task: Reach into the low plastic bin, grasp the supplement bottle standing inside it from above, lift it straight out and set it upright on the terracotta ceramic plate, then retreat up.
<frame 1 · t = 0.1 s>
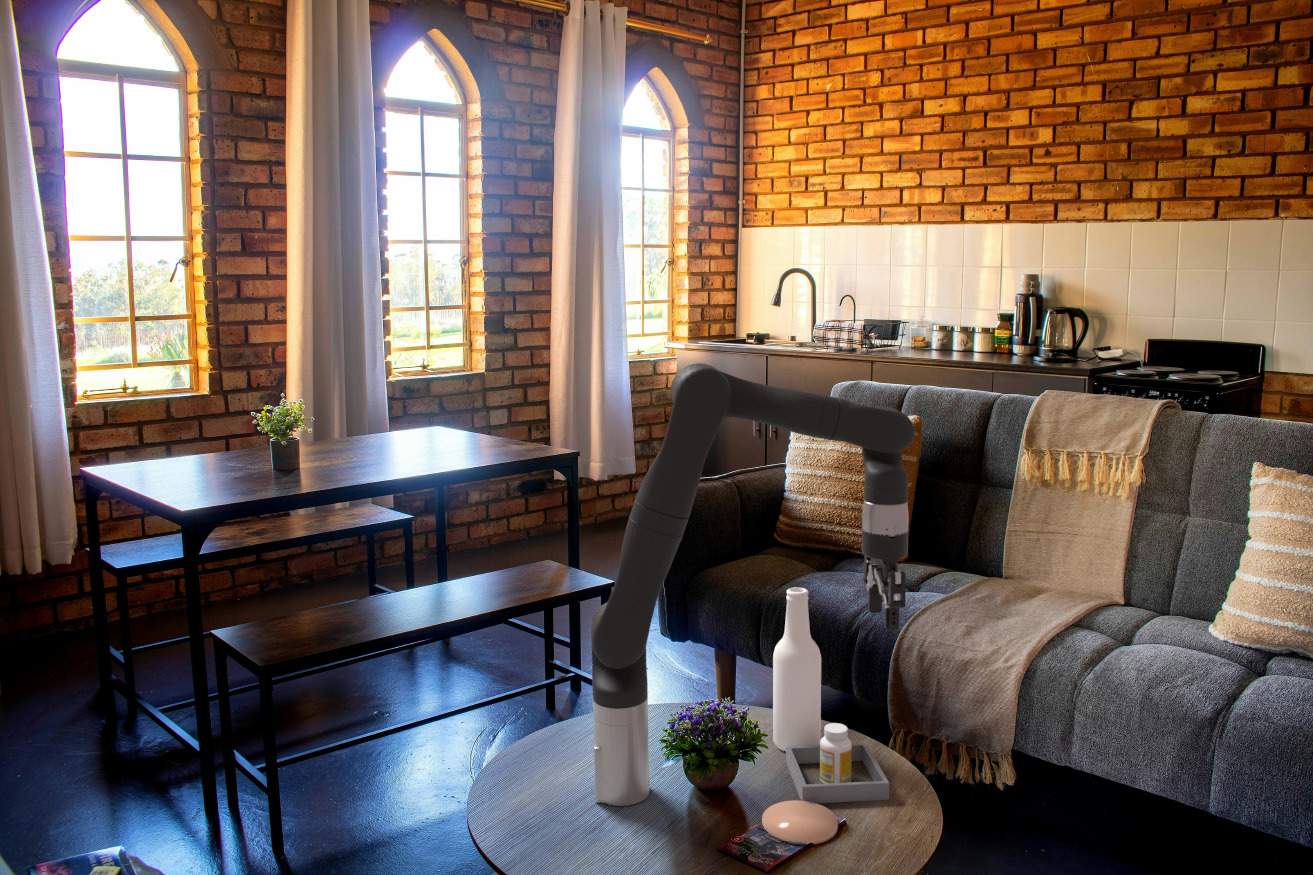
hand: (883, 620, 170), 29 cm above the table, tool pointing down, fingers open, 8 cm apart
bin: (835, 780, 175), on the table
supplement bottle: (835, 781, 175), resting in bin
plate: (799, 824, 161), on the table
alcohol: (796, 745, 189), on the table
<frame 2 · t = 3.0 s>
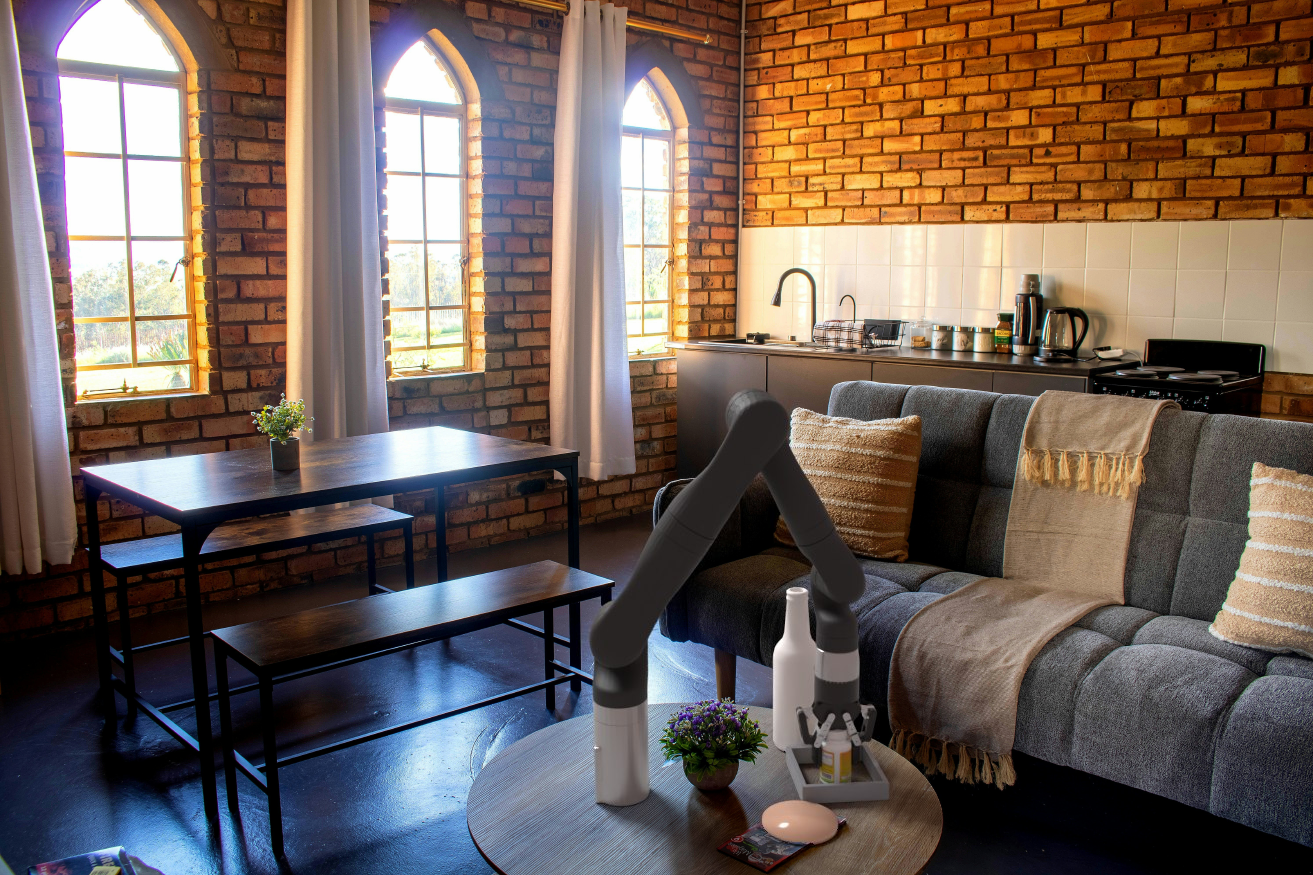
hand: (835, 763, 175), 3 cm above the table, tool pointing down, fingers closed on supplement bottle, 5 cm apart
supplement bottle: (835, 781, 175), resting in bin, touching gripper
everything else where it was.
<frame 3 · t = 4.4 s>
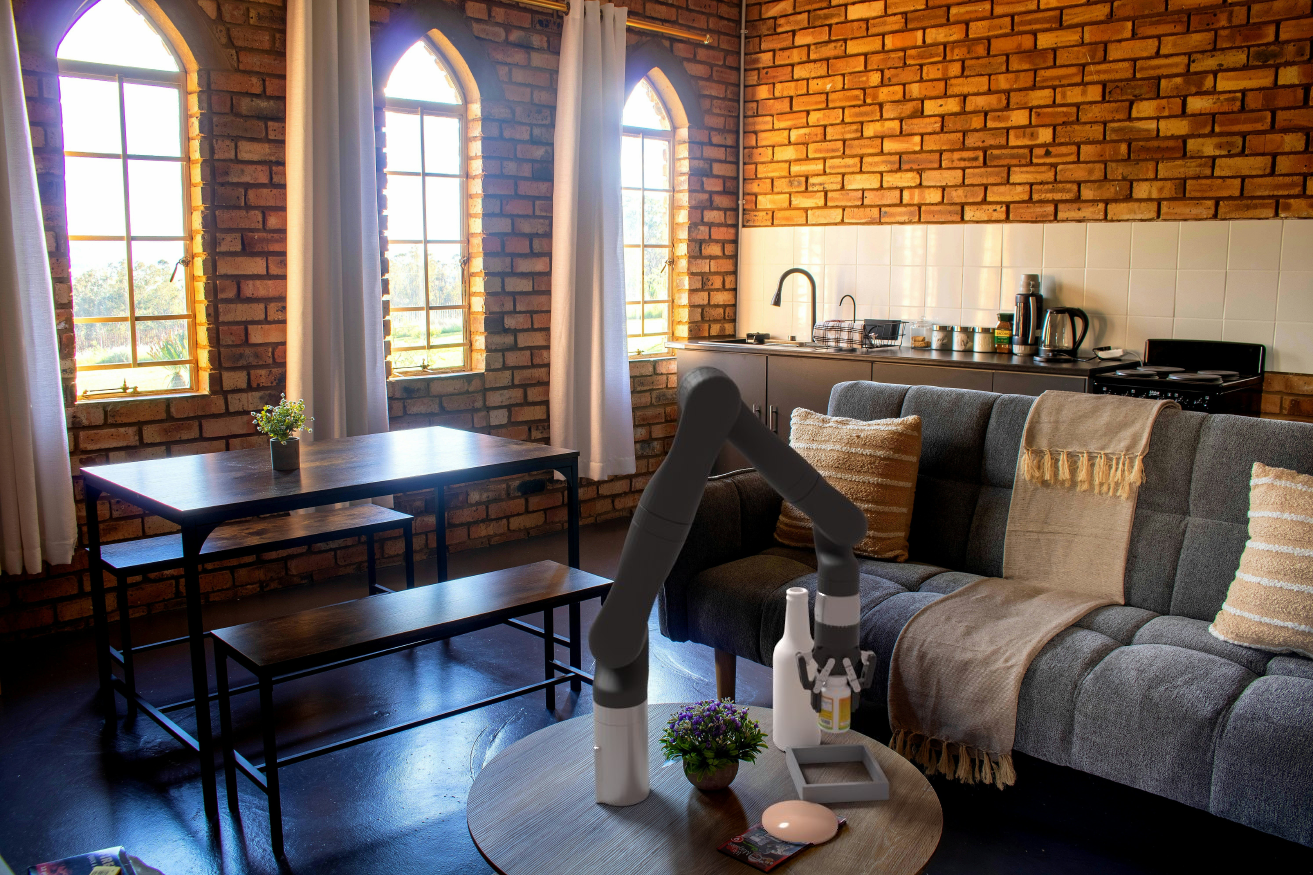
hand: (834, 710, 173), 13 cm above the table, tool pointing down, fingers closed on supplement bottle, 5 cm apart
supplement bottle: (833, 728, 174), point 10 cm above the table, touching gripper
everything else where it was.
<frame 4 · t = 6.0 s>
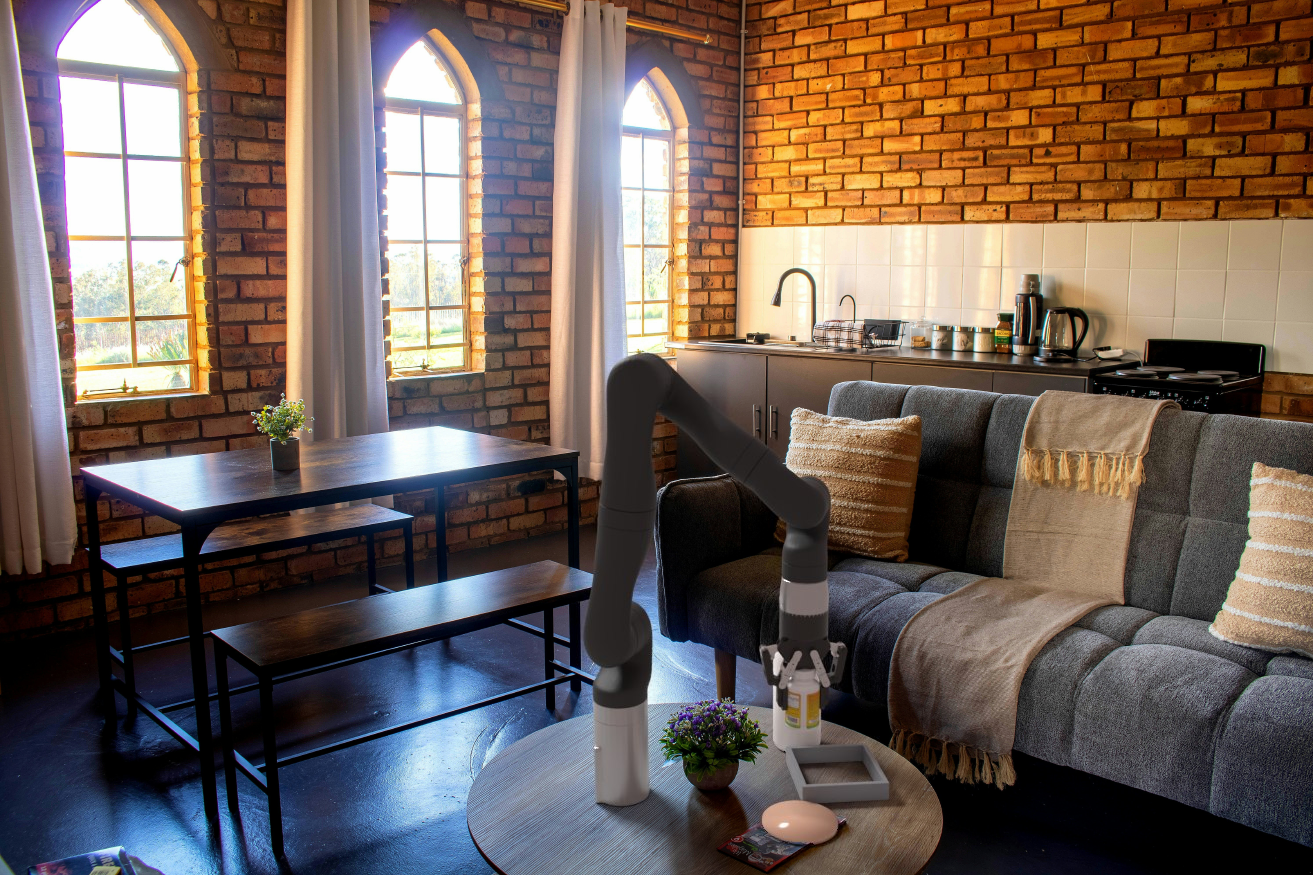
hand: (802, 707, 160), 19 cm above the table, tool pointing down, fingers closed on supplement bottle, 5 cm apart
supplement bottle: (802, 726, 160), point 16 cm above the table, touching gripper
everything else where it was.
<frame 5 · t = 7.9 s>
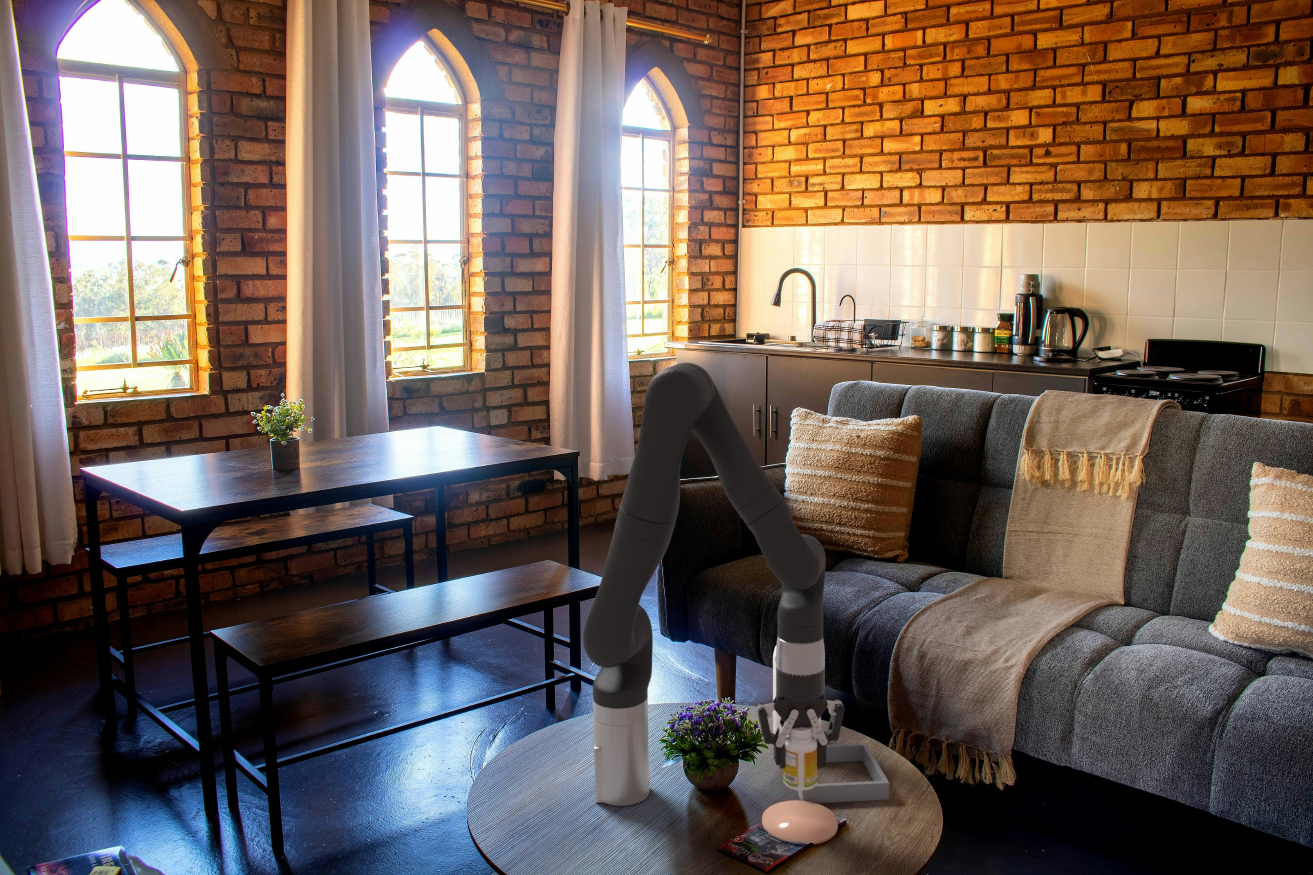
hand: (800, 764, 160), 10 cm above the table, tool pointing down, fingers closed on supplement bottle, 5 cm apart
supplement bottle: (800, 784, 160), point 7 cm above the table, touching gripper
everything else where it was.
when the fingers open (5 cm above the table, at t = 9.4 s): supplement bottle drops 1 cm, resting on plate.
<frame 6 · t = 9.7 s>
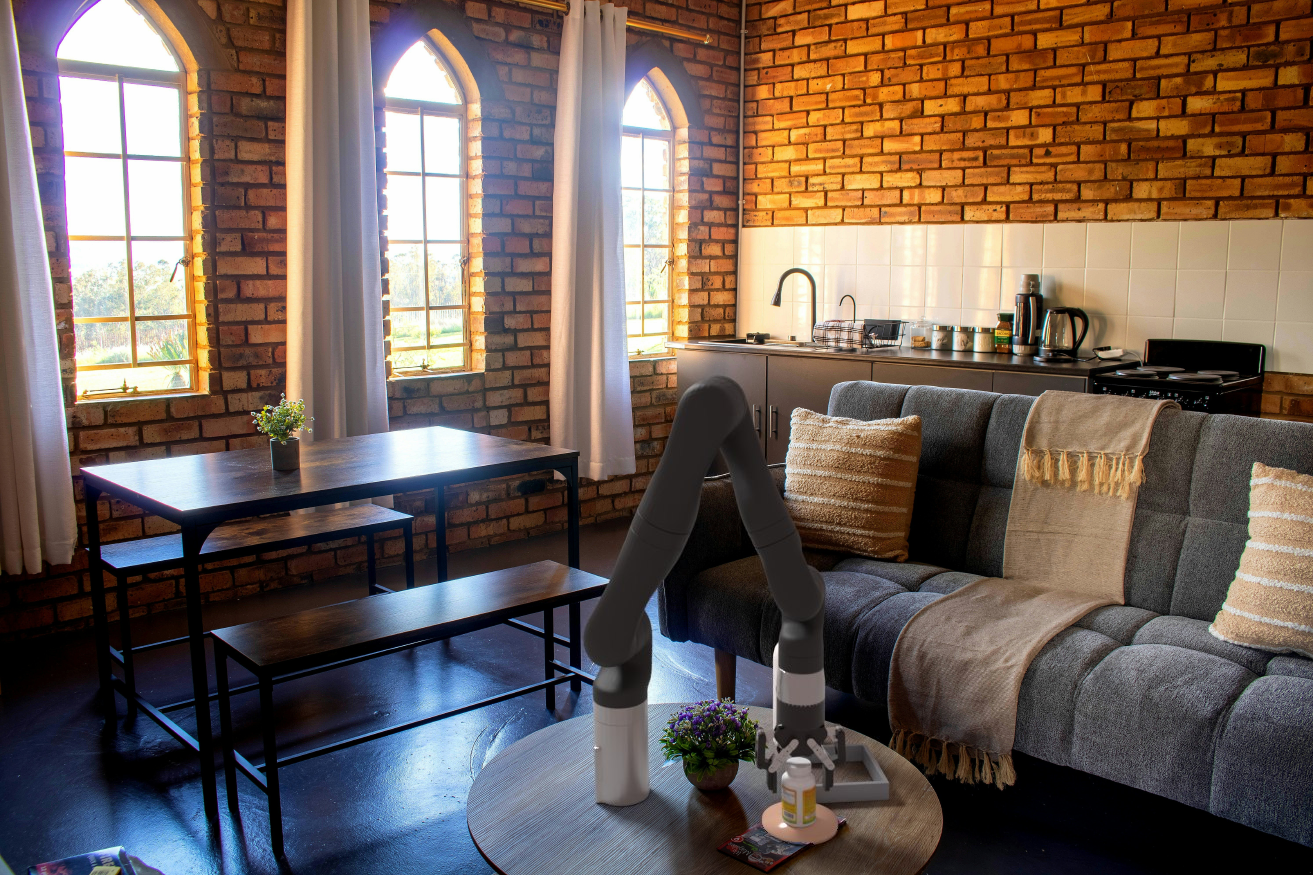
hand: (799, 789, 160), 6 cm above the table, tool pointing down, fingers open, 8 cm apart
supplement bottle: (798, 820, 161), point 1 cm above the table, touching plate
everything else where it was.
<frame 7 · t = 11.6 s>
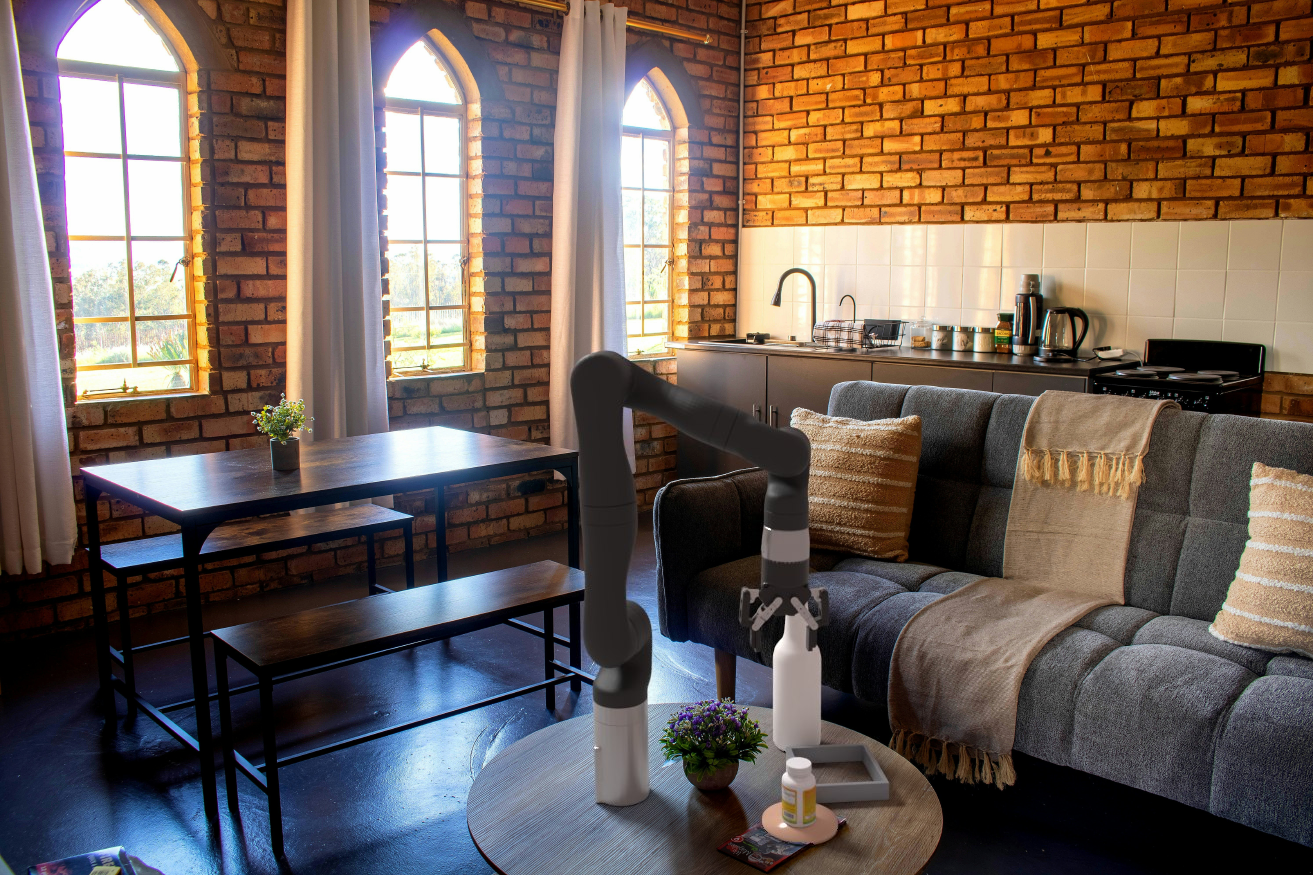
hand: (783, 650, 163), 27 cm above the table, tool pointing down, fingers open, 8 cm apart
nothing on the table moved.
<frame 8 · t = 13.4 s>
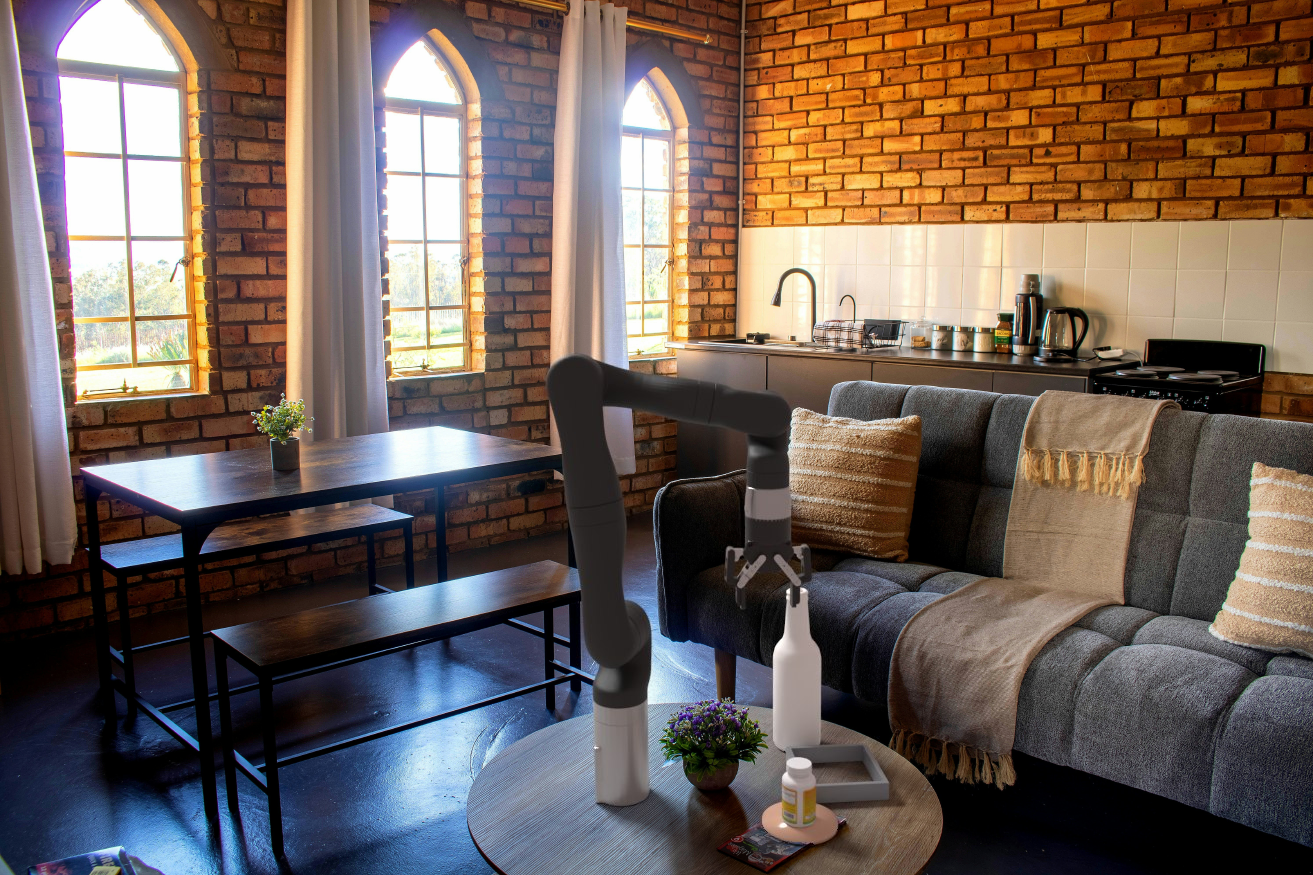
hand: (767, 606, 168), 32 cm above the table, tool pointing down, fingers open, 8 cm apart
nothing on the table moved.
at the end: supplement bottle inside the target area on the plate (0.2 cm from its centre), point 0.6 cm above the plate's base; supplement bottle tilted 0°; the gripper is holding nothing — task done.
